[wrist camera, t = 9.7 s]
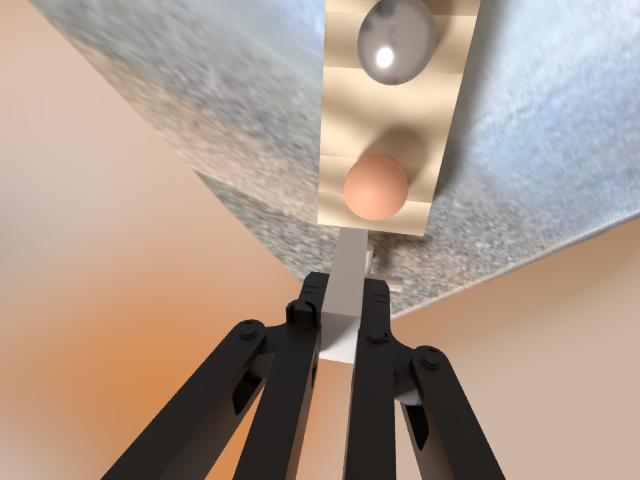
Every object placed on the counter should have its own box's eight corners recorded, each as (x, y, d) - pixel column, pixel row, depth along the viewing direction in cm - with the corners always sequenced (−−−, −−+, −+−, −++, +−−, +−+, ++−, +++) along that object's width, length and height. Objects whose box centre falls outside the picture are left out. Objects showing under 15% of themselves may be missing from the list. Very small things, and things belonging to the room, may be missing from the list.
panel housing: (337, -36, 29) (328, -53, 24) (474, -34, 28) (494, -53, 22) (325, 202, 42) (317, 223, 37) (418, 212, 40) (423, 236, 35)
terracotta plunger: (353, 138, 35) (346, 157, 29) (408, 142, 34) (414, 163, 28) (348, 188, 38) (341, 216, 32) (399, 194, 37) (402, 223, 31)
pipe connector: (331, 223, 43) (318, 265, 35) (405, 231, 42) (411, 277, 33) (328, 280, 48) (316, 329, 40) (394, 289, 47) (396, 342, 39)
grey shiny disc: (366, 5, 30) (361, -7, 23) (432, 6, 29) (445, -5, 23) (359, 76, 33) (353, 83, 26) (418, 79, 32) (427, 87, 26)
